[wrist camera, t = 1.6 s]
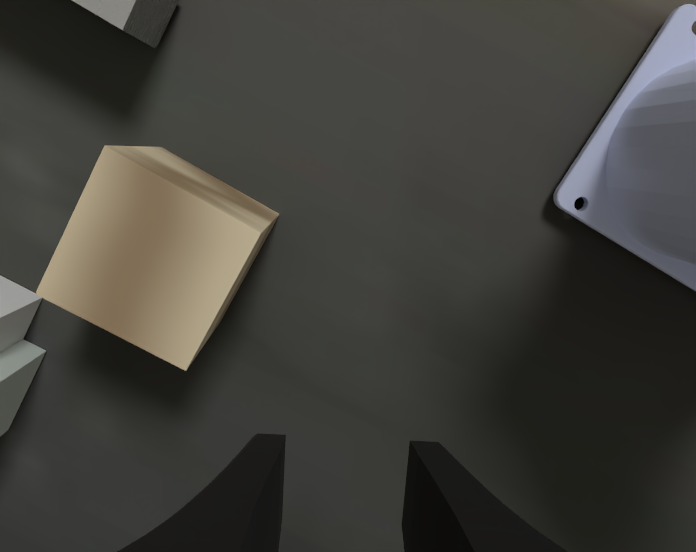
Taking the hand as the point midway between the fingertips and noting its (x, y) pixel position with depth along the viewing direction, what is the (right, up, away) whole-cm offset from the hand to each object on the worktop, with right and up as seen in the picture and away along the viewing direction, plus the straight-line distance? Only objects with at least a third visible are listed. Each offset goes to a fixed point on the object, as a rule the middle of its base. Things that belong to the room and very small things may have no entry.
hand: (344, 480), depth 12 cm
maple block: (-6, +6, +9) cm, 13 cm away
